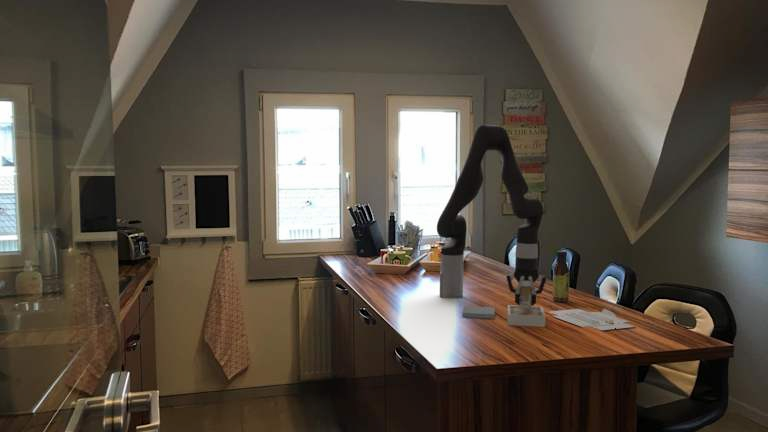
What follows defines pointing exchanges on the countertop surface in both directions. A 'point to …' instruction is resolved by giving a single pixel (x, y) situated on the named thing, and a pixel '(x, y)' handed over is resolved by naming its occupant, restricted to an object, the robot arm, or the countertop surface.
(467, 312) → the ceramic tile
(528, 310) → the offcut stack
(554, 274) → the sauce bottle
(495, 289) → the countertop surface
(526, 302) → the sprinkles bottle
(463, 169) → the robot arm
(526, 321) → the shallow white open box
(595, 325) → the white cloth
